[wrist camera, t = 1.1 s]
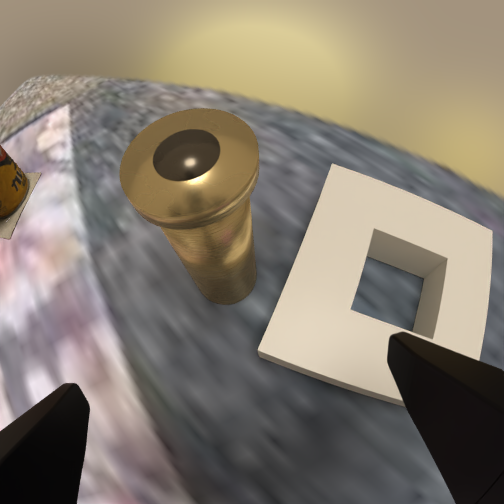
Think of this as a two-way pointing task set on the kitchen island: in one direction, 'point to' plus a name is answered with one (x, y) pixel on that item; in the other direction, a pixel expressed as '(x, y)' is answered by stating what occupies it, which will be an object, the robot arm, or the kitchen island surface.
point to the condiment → (13, 192)
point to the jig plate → (348, 275)
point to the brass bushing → (199, 195)
